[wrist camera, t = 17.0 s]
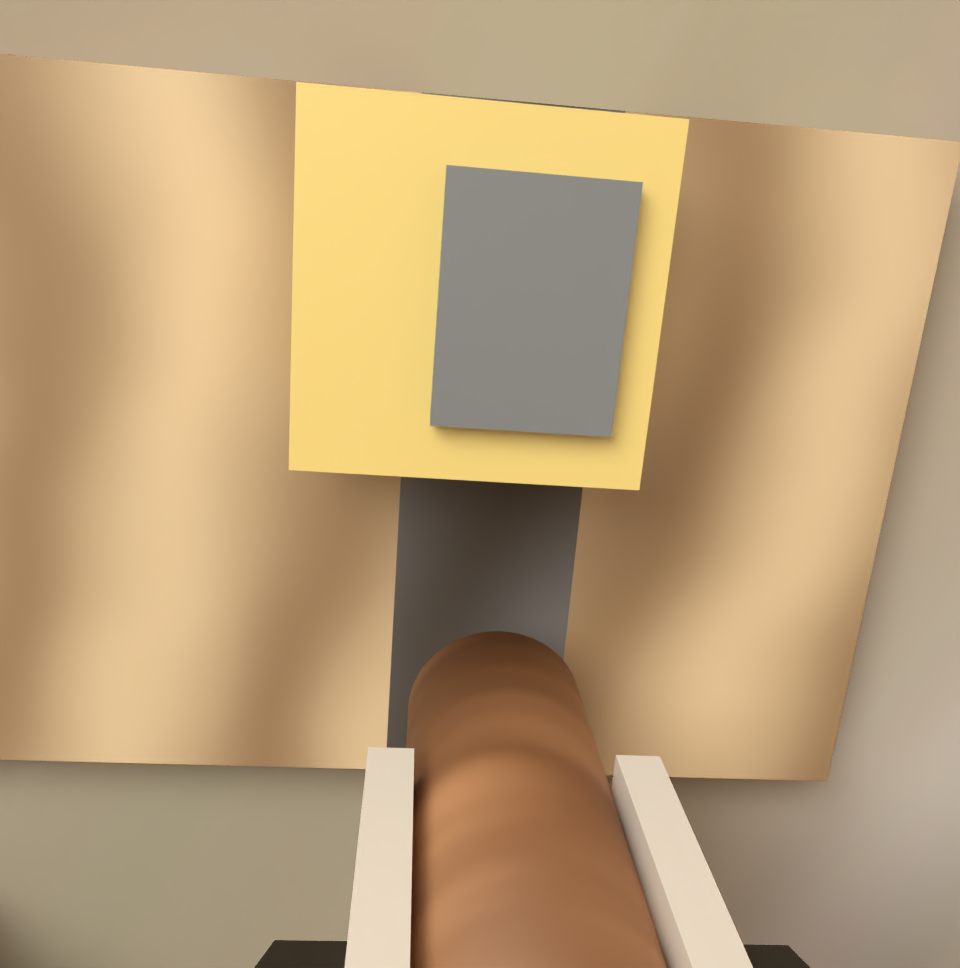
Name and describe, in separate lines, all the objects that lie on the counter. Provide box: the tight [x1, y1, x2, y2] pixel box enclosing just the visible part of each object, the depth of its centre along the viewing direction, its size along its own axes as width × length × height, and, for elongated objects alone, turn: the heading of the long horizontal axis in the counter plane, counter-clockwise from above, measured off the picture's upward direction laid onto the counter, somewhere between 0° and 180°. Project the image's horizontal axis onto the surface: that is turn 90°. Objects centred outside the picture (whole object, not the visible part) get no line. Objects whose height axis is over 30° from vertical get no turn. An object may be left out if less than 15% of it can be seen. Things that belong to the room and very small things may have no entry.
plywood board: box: [0, 54, 960, 781], centre depth 20 cm, size 26×15×2 cm, turn 86°
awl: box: [406, 631, 668, 968], centre depth 12 cm, size 4×4×13 cm
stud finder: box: [289, 82, 689, 490], centre depth 16 cm, size 6×6×4 cm
